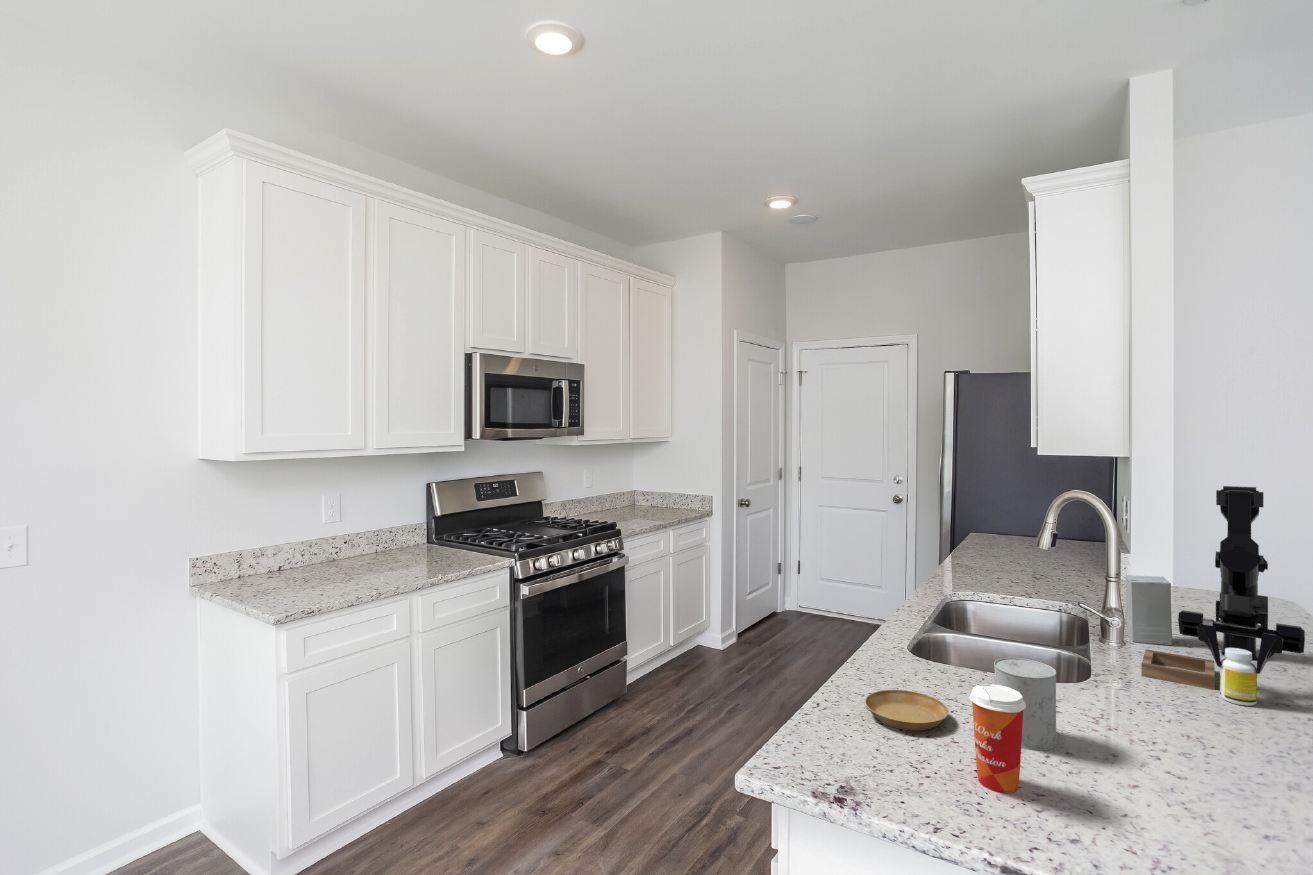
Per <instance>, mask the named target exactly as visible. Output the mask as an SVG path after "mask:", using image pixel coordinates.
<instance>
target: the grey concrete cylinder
mask: <svg viewBox="0 0 1313 875" xmlns="http://www.w3.org/2000/svg"><path fill="white" fill-rule="evenodd" d="M993 665H994V685H1001V686H1005V687H1009V688H1012V689H1014V690H1016V691H1018V692H1019V693H1020V694H1021V695H1022V697H1023V701H1024V702H1025V704H1026V708H1025V709H1024V710H1023V727H1022V744H1021V749H1025V750H1030V751H1031V750H1032V751H1048V750H1052V749H1053V748H1055V747H1057V743H1058V742H1057V670H1056V669H1055V668H1054V667H1052V666H1051V665H1049V664H1046V663H1044V662H1040V661H1037V660H1034V659H1028V658H1021V657H1003V658H999V659H996V660H995V661H994V662H993Z"/></svg>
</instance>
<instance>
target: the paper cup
mask: <svg viewBox="0 0 1313 875" xmlns="http://www.w3.org/2000/svg"><path fill="white" fill-rule="evenodd" d="M969 699H970V701H971V705H972V706H971V707H972V708H971V709H972V718H973V720H972V721H973V734H974V736H973V738H974V748H975V761H976V765H975V766H976V774H977V780H978V783H979V784H980V785H981V786H983V787H985V788H986V789H988V790H991V791H994V792H996V793H997V792H998V793H1004V794H1009V793H1014V792H1016V791H1018V789H1019V785H1020V773H1021V772H1020V771H1021V759H1022V758H1021V757H1022V748H1021V744H1022V727H1023V710H1024V709H1025V708H1026V704H1025V702H1024V701H1023V697H1022V695H1021V694H1020V693H1019V692H1018V691H1016V690H1014V689H1012V688H1009V687H1005V686H1001V685H995V683H994V684H993V683H992V684H991V685H990V684H981V685H979V684H977V685H975V686H973V688H972V690H971V692H970V693H969Z"/></svg>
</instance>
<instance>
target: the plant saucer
mask: <svg viewBox="0 0 1313 875" xmlns="http://www.w3.org/2000/svg"><path fill="white" fill-rule="evenodd" d="M864 705H865V706H866V708H867V709H868V711H869V712H870V713H871V714H872V715H873V716H874V717H875V718H876V719H877V720H878V721H880V722H881V723H883V724H884V725H886V726H889V727H891V728H895V729H898V730H904V731H913V732H914V731H915V732H918V731H926V730H931V729H933V728H935V727H936V726H938V725H939V724H941V723H942V722H943V721H944V720H946V717H948V715H949V712H950V711H949V708H948V706H947V705H946V704H945V703H944V702H943V701H941V700H939V699H937V698H935V697H934V696H931V695H928V694H925V693H921V692H917V691H912V690H906V689H905V690H904V689H883V690H877V691H874V692H872V693H870V694H868V695H867V696H865V699H864Z"/></svg>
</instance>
